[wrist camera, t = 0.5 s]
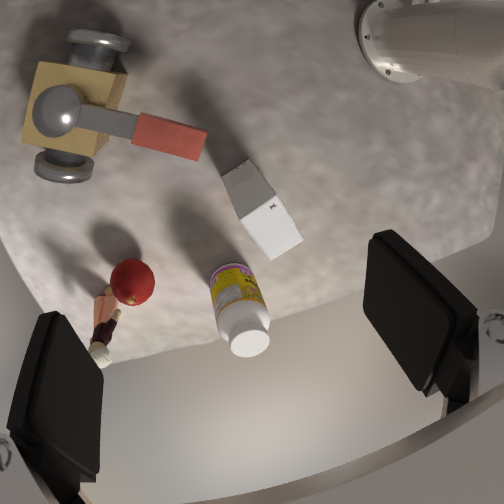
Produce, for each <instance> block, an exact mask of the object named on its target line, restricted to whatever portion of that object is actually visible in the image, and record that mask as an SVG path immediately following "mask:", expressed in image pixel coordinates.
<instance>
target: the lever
mask: <svg viewBox="0 0 504 504" xmlns="http://www.w3.org/2000/svg"><path fill="white" fill-rule="evenodd" d="M32 119H33V123H34V125H35V127H36V129H37V130H38V131H39V132H40V133H41V134H42V135H44V136H46V137H49V138H57V137H61V136H63V135H65V134H67V133H68V132H70V131H72V130H73V129H75V128H76V127H78V128H83V129H87V130H92V131H96V132H101V133H105V134H110V135H114V136H118V137H122V138H126V139H130V140H132V141H131V144H134V145H138V146H142V147H146V148H150V149H154V150H158V151H161V152H165V153H169V154H173V155H176V156H180V157H184V158H187V159H191V160H194V161H198V159H199V156H200V153H201V150H202V147H203V145H204V142H205V139H206V136H207V134H208V133H207V131H206V130H203V129H200V128H197V127H193V126H190V125H186V124H183V123H179V122H176V121H172V120H169V119H165V118H161V117H158V116H154V115H150V114H146V113H142V112H141V114H140V115H135V114H131V113H127V112H123V111H118V110H114V109H110V108H105V107H101V106H96V105H91V104H86V102H85V98H84V96H83V94H82V92H81V91H80V90H79V89H78V88H77V87H75V86H73V85H69V84H63V85H56V86H52V87H49V88H47V89H45V90H44V91H43V92H41V93H40V94H39V96H38V97H37V99H36V100H35V102H34V105H33V109H32Z"/></svg>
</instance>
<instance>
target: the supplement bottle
mask: <svg viewBox="0 0 504 504" xmlns="http://www.w3.org/2000/svg"><path fill="white" fill-rule="evenodd" d="M209 286H210V293H211V298H212V303H213V308H214V313H215V318H216V323H217V328H218V331H219V333H220V335H221V336H222V338H224V339H225V340H226V341H228V342H229V345H230V349H231V351H232V352H233V353H234V354H235V355H237V356H240V357H252V356H255V355H257V354H259V353H261V352H262V351H264V350H265V349H266V348H267V346H268V345H269V335H268V332H267V329H268V327H269V324H270V316H269V313H268V310H267V308H266V305H265V302H264V300H263V297H262V295H261V292H260V289H259V287H258V284H257V282H256V279H255V277H254V274H253V272H252V271H251V270H250V269H249V268H248V267H246V266H245V265H242V264H238V263H230V264H226V265H223V266H221V267H220V268H218V269H217V270H216V271H215V272H214V273H213V274H212V276H211V278H210V283H209Z"/></svg>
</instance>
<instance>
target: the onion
mask: <svg viewBox="0 0 504 504" xmlns="http://www.w3.org/2000/svg"><path fill="white" fill-rule="evenodd" d="M154 285H155V279H154V275H153V272H152V271H151V269H150V268H149V267H148V266H147V265H146V264H145V263H143V262H142V261H139V260H136V259H127V260H124V261H122V262H121V263H119V264H118V265H117V266H116V267H115V268H114V269H113V271H112V274H111V278H110V286H111V289H112V292H113V295H114V296H115V297H116V298H117V299H118V300H119V301H120V302H121V303H124V304H126V305H129V306H136V305H140V304H142V303H144V302H145V301H146V300H147V299H148V298H149V297H150V296H151V295H152V293H153V290H154Z"/></svg>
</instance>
